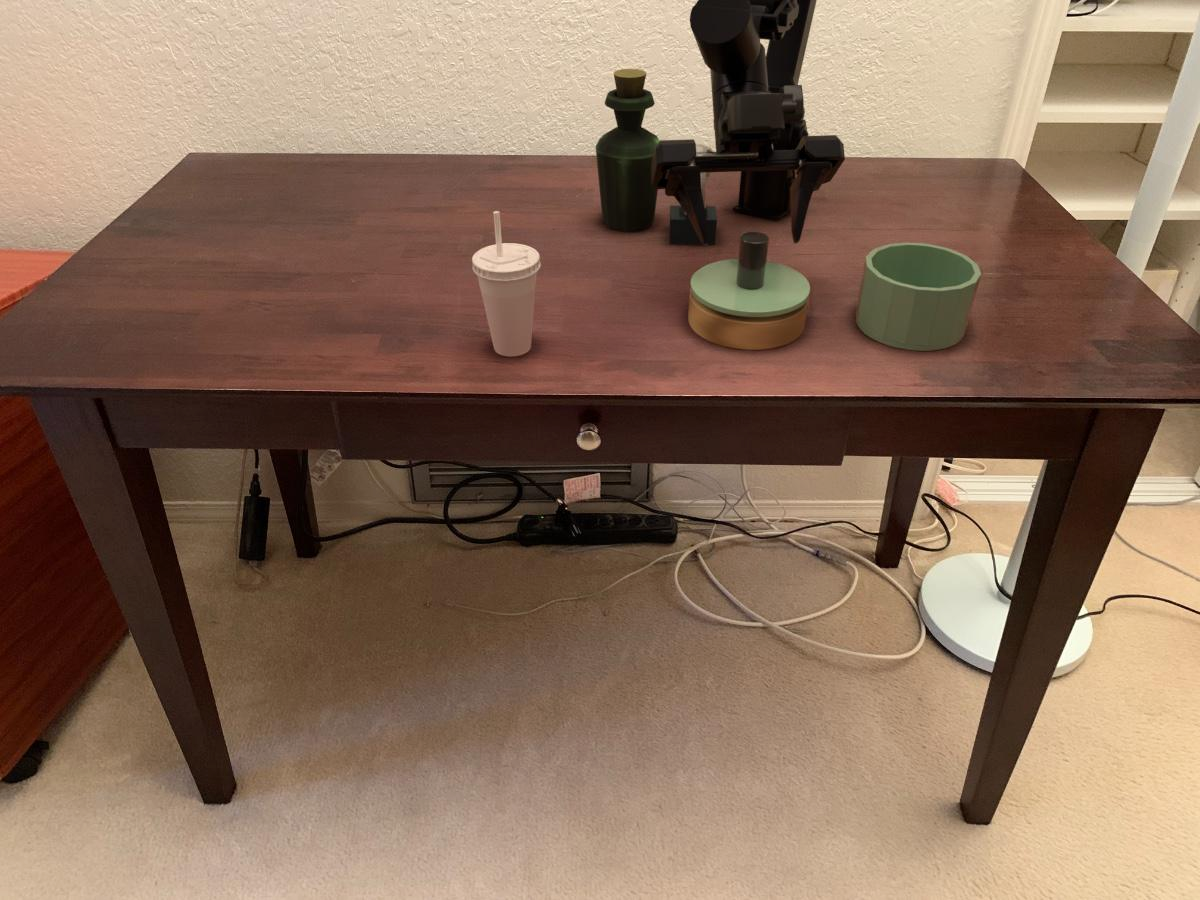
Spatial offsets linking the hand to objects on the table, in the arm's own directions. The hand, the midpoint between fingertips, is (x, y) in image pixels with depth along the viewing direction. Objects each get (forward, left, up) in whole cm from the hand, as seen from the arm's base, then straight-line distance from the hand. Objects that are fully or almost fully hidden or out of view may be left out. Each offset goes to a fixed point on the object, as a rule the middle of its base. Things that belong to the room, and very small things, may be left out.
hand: (751, 243), depth 91 cm
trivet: (+1, -1, -8) cm, 8 cm away
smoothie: (-17, -18, -8) cm, 26 cm away
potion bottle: (-23, +15, -8) cm, 28 cm away
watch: (-14, +15, -8) cm, 22 cm away
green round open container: (+15, +7, -8) cm, 19 cm away
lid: (+1, -1, -4) cm, 5 cm away
